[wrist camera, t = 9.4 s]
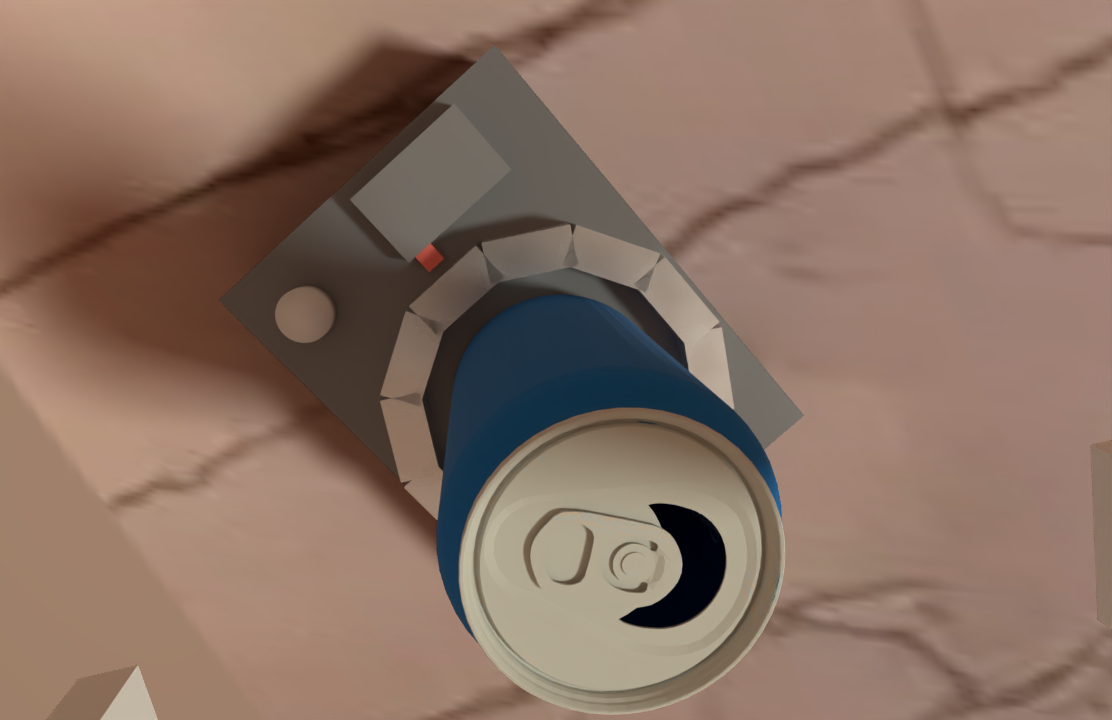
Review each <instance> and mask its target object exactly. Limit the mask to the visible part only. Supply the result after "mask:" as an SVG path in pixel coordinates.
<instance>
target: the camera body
mask: <svg viewBox="0 0 1112 720" xmlns="http://www.w3.org/2000/svg"><path fill="white" fill-rule="evenodd" d="M563 223H568V224H570V226H571V224H572V223H573V224H576V225H578V226H581V227H584V228H587V229H590V230H593V231H596V232H599V233H602V234H605V235H608V236H611V237H614V238H616V239H619V240H622V241H625V242H628V243H631V244H634V245H637V246H640V247H643V248H646V249H649V250H652V251H654V252H657V253H660V255H661V256H664V257H666V259H667V260H668V261H669V262H670V263H671V265H672V266H673V267H674V268H675V269H676V271H677V272H678V273H679V274H680V275H681V277H682V278H683V279H684V280H685V281H686V283H687V284H688V285H689V286H690V287H691V289H692V290H693V291H694V292H695V293H696V294H697V296H698V297H699V298H700V299H701V300H702V302H703V303H704V304H705V305H706V306H707V308H708V309H709V310H710V311H711V312H712V314H713V315H714V316H715V317H716V318H717V320H718V321H719V323H718V324H717V325H719V326H721V327H722V332H723V338H724V344H725V351H726V357H727V364H728V370H729V377H730V383H731V389H732V396H733V402H734V409H733V410H734V411H735V412H736V413H737V414H738V415H739V416H740V417H741V418H742V419H743V420H744V422H745V423H746V424H747V425H748V426H749V427H750V429H751V430H752V432H753V433H754V435H755V436H756V437H757V439H758V440H759V442H760V443H761V445H762V447H763V449H765V448H767V447H768V446H769V445H770V444H771V443H772V442H774V441H775V440H776V439H777V438H778V437H779V436H781V435H782V434H783V433H784V432H785V431H786V430H788V429H789V428H790V427H791V426H792V425H793V424H795V423H796V422H797V421H798V420H799V419H801V418H802V417H803V416H804V415H803V414H802V412H801V411H800V410H799V409H798V408H797V406H796V405H795V404H794V403H793V402H792V400H791V399H790V398H789V397H788V396H787V394H786V393H785V392H784V391H783V390H782V388H781V387H780V386H779V385H778V384H777V382H776V381H775V380H774V379H773V378H772V376H771V375H770V374H769V373H768V372H767V370H766V369H765V368H764V367H763V366H762V364H761V363H760V362H759V361H758V360H757V358H756V357H755V356H754V355H753V354H752V352H751V351H750V350H749V349H748V348H747V347H746V345H745V344H744V343H743V342H742V341H741V339H740V338H739V337H738V336H737V335H736V333H735V332H734V331H733V330H732V329H731V327H730V326H729V325H728V324H727V323H726V321H725V320H724V319H723V318H722V317H721V315H720V314H719V313H718V312H717V311H716V309H715V308H714V307H713V306H712V305H711V303H710V302H709V301H708V300H707V299H706V297H705V296H704V295H703V294H702V293H701V291H700V290H699V289H698V288H697V287H696V285H695V284H694V283H693V282H692V281H691V279H690V278H689V277H688V276H687V275H686V273H685V272H684V271H683V270H682V269H681V267H680V266H679V265H678V264H677V263H676V261H675V260H674V259H673V258H672V257H671V255H670V254H669V253H668V252H667V251H666V249H665V248H664V247H663V246H662V245H661V244H660V242H659V241H658V240H657V239H656V238H655V236H654V235H653V234H652V233H651V232H650V230H649V229H648V228H647V227H646V226H645V224H644V223H643V222H642V221H641V220H640V218H639V217H638V216H637V215H636V214H635V212H634V211H633V210H632V209H631V208H630V206H629V205H628V204H627V203H626V202H625V200H624V199H623V198H622V197H621V196H620V194H619V193H618V192H617V191H616V190H615V188H614V187H613V186H612V185H611V184H610V182H609V181H608V180H607V179H606V178H605V176H604V175H603V174H602V173H601V172H600V170H599V169H598V168H597V167H596V166H595V164H594V163H593V162H592V161H591V160H590V158H589V157H588V156H587V155H586V154H585V152H584V151H583V150H582V149H581V148H580V146H579V145H578V144H577V143H576V142H575V141H574V139H573V138H572V137H571V136H570V135H569V133H568V132H567V131H566V130H565V129H564V127H563V126H562V125H561V124H560V123H559V121H558V120H557V119H556V118H555V117H554V115H553V114H552V113H551V112H550V111H549V109H548V108H547V107H546V106H545V105H544V103H543V102H542V101H541V100H540V99H539V97H538V96H537V95H536V94H535V93H534V91H533V90H532V89H531V88H530V87H529V85H528V84H527V83H526V82H525V81H524V79H523V78H522V77H521V76H520V75H519V73H518V72H517V71H516V70H515V69H514V67H513V66H512V65H511V64H510V63H509V61H508V60H507V59H506V58H505V57H504V55H503V54H502V53H501V52H500V51H499V49H498V48H497V47H496V46H495V45H494V46H493V47H492V48H491V49H490V50H489V51H488V52H487V53H485V54H484V55H483V56H482V57H481V58H480V59H479V60H478V61H477V62H476V63H475V64H474V65H472V66H471V67H470V68H469V69H468V70H467V71H466V72H465V73H464V74H463V75H462V76H461V77H459V78H458V79H457V80H456V81H455V82H454V83H453V84H452V85H451V86H450V87H449V88H448V89H447V90H445V91H444V92H443V93H442V94H441V95H440V96H439V97H438V98H437V99H436V100H435V101H434V102H432V103H431V104H430V105H429V106H428V107H427V108H426V109H425V110H424V111H423V112H422V113H421V114H419V115H418V116H417V117H416V118H415V119H414V120H413V121H412V122H411V123H410V124H409V125H408V126H406V127H405V128H404V129H403V130H402V131H401V132H400V133H399V134H398V135H397V136H396V137H395V138H393V139H392V140H391V141H390V142H389V143H388V144H387V145H386V146H385V147H384V148H383V149H382V150H381V151H379V152H378V153H377V154H376V155H375V156H374V157H373V158H372V159H371V160H370V161H369V162H368V163H366V164H365V165H364V166H363V167H362V168H361V169H360V170H359V171H358V172H357V173H356V174H355V175H353V176H352V177H351V178H350V179H349V180H348V181H347V182H346V183H345V184H344V185H343V186H342V187H340V188H339V189H338V190H337V191H336V192H335V193H334V194H333V195H332V196H331V197H330V198H329V199H328V200H326V201H325V202H324V203H323V204H322V205H321V206H320V207H319V208H318V209H317V210H316V211H315V212H313V213H312V214H311V215H310V216H309V217H308V218H307V219H306V220H305V221H304V222H303V223H302V224H300V225H299V226H298V227H297V228H296V229H295V230H294V231H293V232H292V233H291V234H290V235H289V236H287V237H286V238H285V239H284V240H283V241H282V242H281V243H280V244H279V245H278V246H277V247H276V248H274V249H273V250H272V251H271V252H270V253H269V254H268V255H267V256H266V257H265V258H264V259H263V260H262V261H260V262H259V263H258V264H257V265H256V266H255V267H254V268H253V269H252V270H251V271H250V272H249V273H247V274H246V275H245V276H244V277H243V278H242V279H241V280H240V281H239V282H238V283H237V284H236V285H234V286H233V287H232V288H231V289H230V290H229V291H228V292H227V293H226V294H225V295H224V296H223V297H221V298H220V299H219V301H220V302H221V303H222V304H223V305H224V306H225V307H226V308H227V309H228V310H229V311H230V312H231V313H232V314H233V315H234V316H235V317H236V318H237V319H238V320H239V321H240V322H241V323H242V324H243V325H244V326H245V327H246V328H247V329H248V330H249V331H250V332H251V333H252V334H253V335H254V336H255V337H256V338H257V339H258V340H259V341H260V342H261V343H262V344H263V345H264V346H265V347H266V348H267V349H268V350H269V351H270V352H271V353H272V354H273V355H274V356H275V357H276V358H277V359H278V360H279V361H280V362H281V363H282V364H283V365H284V366H285V367H287V368H288V369H289V370H290V371H291V372H292V373H293V374H294V375H295V376H296V377H297V378H298V379H299V380H300V381H301V382H302V383H303V384H304V385H305V386H306V387H307V388H308V389H309V390H310V391H311V392H312V393H313V394H314V395H315V396H316V397H317V398H318V399H319V400H320V401H321V402H322V403H323V404H324V405H325V406H326V407H327V408H328V409H329V410H330V411H331V412H332V413H333V414H334V415H335V416H336V417H337V418H338V419H339V420H340V421H341V422H342V423H343V424H344V425H345V426H346V427H347V428H348V429H349V430H350V431H351V432H352V433H353V434H354V435H355V436H356V437H357V438H358V439H359V440H360V441H361V442H362V443H363V444H364V445H365V446H366V447H367V448H368V449H369V450H370V451H371V452H372V453H373V454H374V455H376V456H377V457H378V458H379V459H380V460H381V461H382V462H383V463H384V464H385V465H386V466H387V467H388V468H389V469H390V470H391V471H392V472H393V473H394V474H395V475H396V476H397V477H398V478H399V479H400V477H399V473H398V469H397V465H396V462H395V458H394V454H393V450H392V446H391V442H390V438H389V434H388V430H387V427H386V423H385V419H384V415H383V411H382V407H381V403H380V400H381V398H382V395H380V393H381V390H382V387H383V384H384V380H385V377H386V374H387V370H388V367H389V364H390V361H391V357H392V354H393V351H394V348H395V344H396V341H397V338H398V334H399V331H400V328H401V325H402V321H403V318H404V315H405V312H406V310H407V308H408V307H409V305H410V304H411V302H412V301H413V300H414V299H415V298H416V297H417V296H418V295H419V294H420V293H421V292H422V291H424V290H425V289H426V288H427V287H428V286H429V285H430V284H431V283H432V282H434V281H435V280H436V279H437V278H438V277H439V276H440V275H441V274H442V273H443V272H445V271H446V270H447V269H448V268H449V267H450V266H451V265H452V264H453V263H455V262H456V261H457V260H458V259H459V258H460V257H461V256H462V255H463V254H465V253H466V252H467V251H468V250H469V249H470V248H471V247H472V246H473V245H474V244H477V245H478V246H479V247H480V248H481V249H482V250H483V248H482V243H481V240H486V239H490V238H495V237H500V236H505V235H510V234H514V233H519V232H524V231H529V230H534V229H539V228H543V227H548V226H553V225H558V224H563ZM547 295H574V296H581V297H586V298H589V299H593V300H596V301H599V302H601V303H603V304H606V305H608V306H610V307H612V308H613V309H615V310H617V311H618V312H620V313H621V314H623V315H624V316H625V317H626V318H628V319H629V320H630V321H631V322H632V323H634V324H635V325H636V326H637V327H638V328H639V329H641V330H642V331H643V332H644V333H645V334H646V335H648V336H649V337H650V338H651V339H652V340H653V341H654V342H656V343H657V344H658V345H659V346H660V347H661V348H663V349H664V350H665V351H666V352H667V353H668V354H670V355H671V356H672V357H673V358H674V359H675V360H676V361H678V362H679V357H678V351H677V346H676V340H675V335H674V334H673V333H672V332H671V331H670V330H669V328H668V327H667V326H666V325H665V324H664V323H663V321H662V320H661V319H660V318H659V317H658V316H657V314H656V313H655V312H654V311H653V310H652V309H651V307H650V306H649V305H648V304H647V303H646V302H645V300H644V299H643V298H642V297H641V296H640V295H639V293H638V292H637V291H636V290H635V289H634V288H632V287H629V286H626V285H623V284H620V283H617V282H614V281H611V280H608V279H605V278H602V277H599V276H596V275H593V274H590V273H587V272H584V271H581V270H578V269H575V268H572V267H568V268H564V269H559V270H554V271H549V272H545V273H540V274H535V275H530V276H526V277H521V278H516V279H511V280H506V281H502V282H498V283H497V284H496V285H495V286H493V287H492V288H491V289H490V290H489V291H488V292H487V293H486V294H485V295H483V296H482V297H481V298H480V299H479V300H478V301H477V302H476V303H474V304H473V305H472V306H471V307H470V308H469V309H468V310H467V311H466V312H464V313H463V314H462V315H461V316H460V317H459V318H458V319H457V320H456V321H454V322H453V323H452V324H451V325H450V326H449V327H448V328H447V329H445V330H444V331H443V334H442V337H441V341H440V344H439V347H438V350H437V353H436V356H435V360H434V363H433V366H432V369H431V372H430V375H429V379H428V382H427V385H426V388H425V393H426V398H427V402H428V406H429V410H430V414H431V418H432V422H433V426H434V430H435V434H436V439H437V443H438V447H439V451H440V454H441V455H442V456H443V457H444V458H445V452H446V443H447V435H448V427H449V418H450V410H451V401H452V393H453V386H454V379H455V375H456V372H457V368H458V365H459V363H460V360H461V358H462V356H463V354H464V352H465V350H466V348H467V347H468V345H469V343H470V342H471V340H472V339H473V338H474V337H475V335H476V334H477V333H478V332H479V330H480V329H481V328H482V327H483V326H484V325H486V324H487V323H488V322H489V321H490V320H491V319H492V318H494V317H495V316H496V315H498V314H499V313H500V312H502V311H504V310H506V309H507V308H509V307H511V306H513V305H515V304H517V303H520V302H523V301H525V300H528V299H532V298H536V297H540V296H547ZM403 483H404V484H405V482H403Z"/></svg>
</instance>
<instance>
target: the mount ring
mask: <svg viewBox="0 0 1112 720" xmlns="http://www.w3.org/2000/svg"><path fill="white" fill-rule="evenodd" d="M481 243H482V248H483V250H482V249H481V248H480V247H479V246H478V245H477V244H474V245H473V246H472V247H471V248H470V249H469V250H468V251H467V252H466V253H465V254H463V255H462V256H461V257H460V258H459V259H458V260H457V261H456V262H455V263H453V264H452V265H451V266H450V267H449V268H448V269H447V270H446V271H445V272H443V273H442V274H441V275H440V276H439V277H438V278H437V279H436V280H435V281H434V282H432V283H431V284H430V285H429V286H428V287H427V288H426V289H425V290H424V291H422V292H421V293H420V294H419V295H418V296H417V297H416V298H415V299H414V300H413V301H412V302H411V304H410V305H409V307H408V308H407V310H406V312H405V315H404V318H403V321H402V325H401V328H400V331H399V334H398V338H397V341H396V344H395V348H394V351H393V354H392V357H391V361H390V364H389V367H388V370H387V374H386V377H385V380H384V384H383V387H382V390H381V393H380V395H382V398H381V400H380V403H381V407H382V411H383V415H384V419H385V423H386V427H387V430H388V434H389V438H390V442H391V446H392V450H393V454H394V458H395V462H396V465H397V469H398V473H399V477H400V481H401V482H405V485H404V488H405V489H406V490H407V491H408V492H409V493H410V494H411V495H412V496H413V497H414V498H415V499H416V500H417V501H418V502H419V503H420V504H421V505H422V506H423V507H424V508H425V509H426V510H427V511H428V512H429V513H430V514H431V515H432V516H433V517H434V518H435V519H436V520H437V519H438V511H439V502H440V494H441V485H442V477H443V469H444V460H445V458H444V457H443V456H442V455H441V454H440V451H439V447H438V443H437V439H436V434H435V430H434V426H433V422H432V418H431V414H430V410H429V406H428V402H427V398H426V393H425V388H426V385H427V382H428V379H429V375H430V372H431V369H432V366H433V363H434V360H435V356H436V353H437V350H438V347H439V344H440V341H441V337H442V334H443V331H444V330H445V329H447V328H448V327H449V326H450V325H451V324H452V323H453V322H454V321H456V320H457V319H458V318H459V317H460V316H461V315H462V314H463V313H464V312H466V311H467V310H468V309H469V308H470V307H471V306H472V305H473V304H474V303H476V302H477V301H478V300H479V299H480V298H481V297H482V296H483V295H485V294H486V293H487V292H488V291H489V290H490V289H491V288H492V287H493V286H495V285H496V284H497V283H498V282H502V281H506V280H511V279H516V278H521V277H526V276H530V275H535V274H540V273H545V272H549V271H554V270H559V269H564V268H568V267H572V268H575V269H578V270H581V271H584V272H587V273H590V274H593V275H596V276H599V277H602V278H605V279H608V280H611V281H614V282H617V283H620V284H623V285H626V286H629V287H632V288H634V289H635V290H636V291H637V292H638V293H639V295H640V296H641V297H642V298H643V299H644V300H645V302H646V303H647V304H648V305H649V306H650V307H651V309H652V310H653V311H654V312H655V313H656V314H657V316H658V317H659V318H660V319H661V320H662V321H663V323H664V324H665V325H666V326H667V327H668V328H669V330H670V331H671V332H672V333H673V334H674V335H675V340H676V346H677V351H678V357H679V363H680V364H681V365H682V366H683V367H685V368H686V369H687V370H688V371H689V372H690V373H692V374H693V375H694V376H695V377H696V378H697V379H699V380H700V381H701V382H702V383H703V384H704V385H705V386H707V387H708V388H709V389H710V390H711V391H712V392H714V393H715V394H716V395H717V396H718V397H719V398H721V399H722V400H723V401H724V402H725V403H726V404H727V405H729V406H730V407H731V408H732V409H734V402H733V396H732V389H731V383H730V377H729V370H728V364H727V357H726V351H725V344H724V338H723V332H722V327H721V326H719V325H717V324H718V323H719V321H718V320H717V318H716V317H715V316H714V315H713V314H712V312H711V311H710V310H709V309H708V308H707V306H706V305H705V304H704V303H703V302H702V300H701V299H700V298H699V297H698V296H697V294H696V293H695V292H694V291H693V290H692V289H691V287H690V286H689V285H688V284H687V283H686V281H685V280H684V279H683V278H682V277H681V275H680V274H679V273H678V272H677V271H676V269H675V268H674V267H673V266H672V265H671V263H670V262H669V261H668V260H667V259H666V257H664V256H661V255H660V253H657V252H654V251H652V250H649V249H646V248H643V247H640V246H637V245H634V244H631V243H628V242H625V241H622V240H619V239H616V238H614V237H611V236H608V235H605V234H602V233H599V232H596V231H593V230H590V229H587V228H584V227H581V226H578V225H576V224H573V223H572V224H571V226H570V224H568V223H563V224H558V225H553V226H548V227H543V228H539V229H534V230H529V231H524V232H519V233H514V234H510V235H505V236H500V237H495V238H490V239H486V240H481Z"/></svg>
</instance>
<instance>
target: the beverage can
mask: <svg viewBox="0 0 1112 720" xmlns="http://www.w3.org/2000/svg"><path fill="white" fill-rule="evenodd" d="M437 556H438V563H439V570H440V573H441V577H442V580H443V584H444V587H445V590H446V593H447V595H448V597H449V599H450V601H451V604H452V606H453V608H454V610H455V612H456V614H457V615H458V617H459V619H460V620H461V622H462V623H463V625H464V626H465V628H466V629H467V631H468V632H469V633H470V634H471V636H472V637H473V638H474V639H475V640H476V641H477V642H478V644H479V645H480V647H481V648H482V650H483V651H484V653H485V654H486V656H487V657H488V658H489V659H490V660H491V661H492V663H493V664H494V665H495V666H496V667H497V668H498V669H499V670H500V671H501V672H502V673H503V674H504V675H505V676H506V677H508V678H509V679H510V680H511V681H512V682H513V683H515V684H516V685H518V686H519V687H521V688H522V689H524V690H525V691H527V692H528V693H530V694H532V695H534V696H536V697H538V698H540V699H542V700H544V701H546V702H548V703H551V704H554V705H557V706H560V707H563V708H566V709H570V710H575V711H580V712H584V713H593V714H605V715H614V714H631V713H638V712H645V711H650V710H654V709H657V708H661V707H665V706H668V705H671V704H673V703H676V702H678V701H681V700H683V699H686V698H688V697H690V696H692V695H694V694H696V693H697V692H699V691H701V690H703V689H705V688H707V687H708V686H709V685H711V684H712V683H714V682H715V681H717V680H718V679H719V678H721V677H722V676H724V675H725V674H726V673H727V672H728V671H729V670H730V669H731V668H733V667H734V666H735V665H736V664H737V663H738V662H739V661H740V660H741V659H742V658H743V657H744V655H745V654H746V653H747V652H748V651H749V650H750V649H751V648H752V646H753V645H754V643H755V642H756V640H757V639H758V637H759V636H760V635H761V633H762V632H763V630H764V628H765V626H766V624H767V622H768V620H769V619H770V617H771V615H772V613H773V610H774V607H775V605H776V602H777V599H778V597H779V593H780V589H781V584H782V580H783V576H784V565H785V539H784V532H783V527H782V513H781V502H780V496H779V491H778V485H777V482H776V479H775V476H774V473H773V470H772V467H771V464H770V461H769V459H768V457H767V455H766V453H765V451H764V449H763V447H762V445H761V443H760V442H759V440H758V439H757V437H756V436H755V435H754V433H753V432H752V430H751V429H750V427H749V426H748V425H747V424H746V423H745V422H744V420H743V419H742V418H741V417H740V416H739V415H738V414H737V413H736V412H735V411H734V410H733V409H732V408H731V407H730V406H729V405H727V404H726V403H725V402H724V401H723V400H722V399H721V398H719V397H718V396H717V395H716V394H715V393H714V392H712V391H711V390H710V389H709V388H708V387H707V386H705V385H704V384H703V383H702V382H701V381H700V380H699V379H697V378H696V377H695V376H694V375H693V374H692V373H690V372H689V371H688V370H687V369H686V368H685V367H683V366H682V365H681V364H680V363H679V362H678V361H676V360H675V359H674V358H673V357H672V356H671V355H670V354H668V353H667V352H666V351H665V350H664V349H663V348H661V347H660V346H659V345H658V344H657V343H656V342H654V341H653V340H652V339H651V338H650V337H649V336H648V335H646V334H645V333H644V332H643V331H642V330H641V329H639V328H638V327H637V326H636V325H635V324H634V323H632V322H631V321H630V320H629V319H628V318H626V317H625V316H624V315H623V314H621V313H620V312H618V311H617V310H615V309H613V308H612V307H610V306H608V305H606V304H603V303H601V302H599V301H596V300H593V299H589V298H586V297H581V296H574V295H547V296H540V297H536V298H532V299H528V300H525V301H523V302H520V303H517V304H515V305H513V306H511V307H509V308H507V309H506V310H504V311H502V312H500V313H499V314H498V315H496V316H495V317H494V318H492V319H491V320H490V321H489V322H488V323H487V324H486V325H484V326H483V327H482V328H481V329H480V330H479V332H478V333H477V334H476V335H475V337H474V338H473V339H472V340H471V342H470V343H469V345H468V347H467V348H466V350H465V352H464V354H463V356H462V358H461V360H460V363H459V365H458V368H457V372H456V375H455V379H454V386H453V393H452V401H451V410H450V418H449V427H448V435H447V443H446V452H445V460H444V469H443V477H442V485H441V494H440V502H439V511H438V519H437Z"/></svg>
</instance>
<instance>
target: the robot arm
mask: <svg viewBox="0 0 1112 720" xmlns="http://www.w3.org/2000/svg"><path fill="white" fill-rule="evenodd" d="M1091 471H1092V496H1093V522H1094V548H1095V574H1096V600H1097V620H1099V621H1100V622H1102V623H1103V624H1104V625H1106V626H1107V627H1109V628H1110V629H1111V630H1112V440H1110V441H1105V442H1101V443H1097V444H1092V445H1091ZM46 720H158V719H157V716H156V713H155V711H154V708H153V705H152V703H151V700H150V697H149V694H148V692H147V689H146V686H145V684H144V681H143V678H142V676H141V673H140V670H139V667H138V665H136V666H132V667H127V668H123V669H119V670H115V671H111V672H106V673H102V674H97V675H93V676H88V677H84V678H80V679H78V680H77V681H76V682H75V684H74V685H73V686H72V688H71V689H70V690H69V691H68V693H67V694H66V695H65V696H64V698H63V699H62V700H61V701H60V703H59V704H58V705H57V706H56V708H55V709H54V710H53V712H52V713H51V714H50V715H49V717H48V718H47V719H46Z"/></svg>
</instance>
